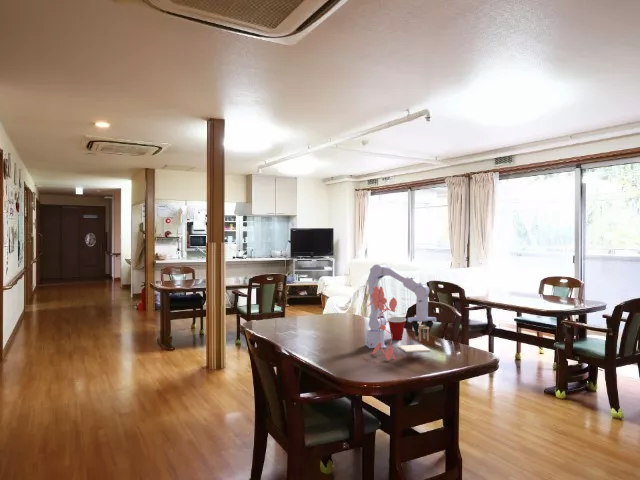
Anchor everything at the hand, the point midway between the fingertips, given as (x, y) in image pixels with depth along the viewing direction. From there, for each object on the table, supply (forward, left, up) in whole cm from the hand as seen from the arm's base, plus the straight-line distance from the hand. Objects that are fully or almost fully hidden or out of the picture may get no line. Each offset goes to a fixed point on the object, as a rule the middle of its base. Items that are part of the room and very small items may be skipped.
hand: (421, 335), depth 220 cm
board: (-1, +8, -9) cm, 12 cm away
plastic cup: (-2, +31, -9) cm, 33 cm away
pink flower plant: (-25, -5, -9) cm, 27 cm away
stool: (0, 0, -2) cm, 2 cm away
